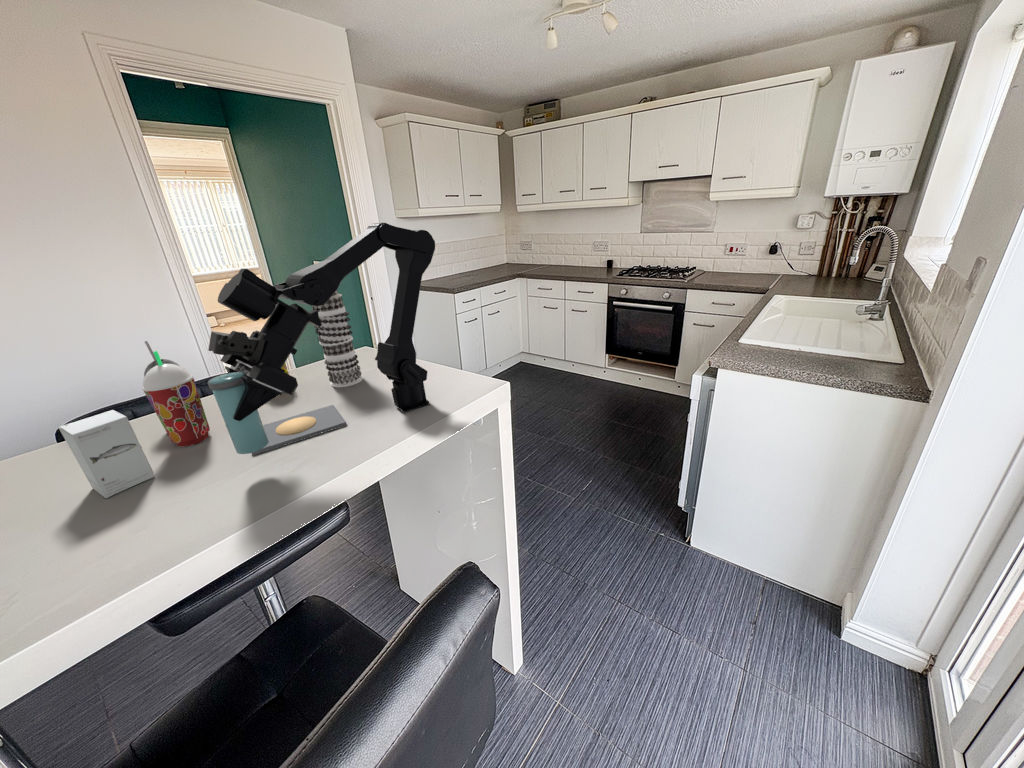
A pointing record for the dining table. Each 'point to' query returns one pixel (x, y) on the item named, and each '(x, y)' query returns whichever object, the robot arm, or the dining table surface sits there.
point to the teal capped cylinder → (228, 394)
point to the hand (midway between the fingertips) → (231, 416)
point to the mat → (301, 427)
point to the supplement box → (108, 452)
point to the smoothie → (176, 403)
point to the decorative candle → (337, 343)
